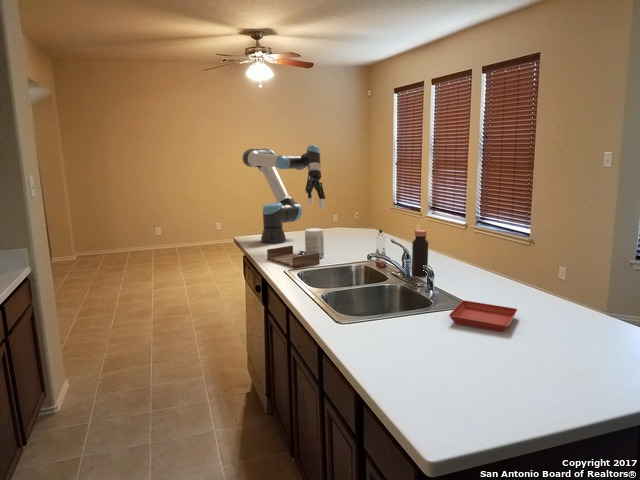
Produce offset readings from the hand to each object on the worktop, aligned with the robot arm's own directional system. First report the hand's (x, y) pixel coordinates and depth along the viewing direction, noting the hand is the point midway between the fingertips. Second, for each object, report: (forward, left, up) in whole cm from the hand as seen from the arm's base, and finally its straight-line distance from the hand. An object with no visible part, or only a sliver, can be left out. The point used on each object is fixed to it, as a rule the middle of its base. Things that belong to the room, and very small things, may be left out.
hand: (316, 207), depth 268 cm
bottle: (+79, -4, -23) cm, 82 cm away
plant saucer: (+129, -32, -24) cm, 135 cm away
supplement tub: (+20, -17, -23) cm, 35 cm away
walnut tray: (+21, -31, -23) cm, 44 cm away
